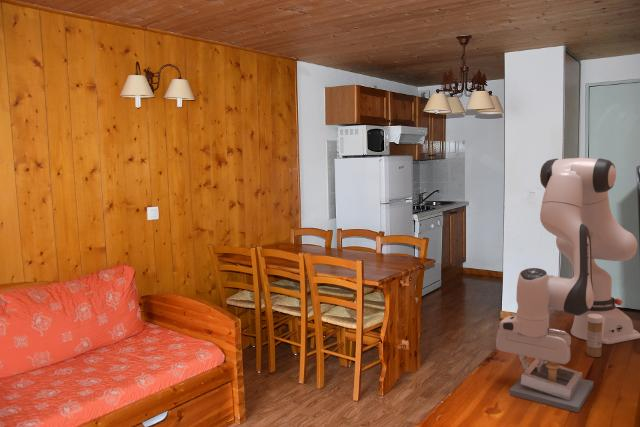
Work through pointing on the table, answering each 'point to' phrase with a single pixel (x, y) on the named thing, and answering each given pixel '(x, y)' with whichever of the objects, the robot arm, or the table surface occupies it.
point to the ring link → (549, 386)
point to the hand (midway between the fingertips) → (531, 370)
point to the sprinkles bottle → (594, 335)
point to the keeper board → (552, 400)
